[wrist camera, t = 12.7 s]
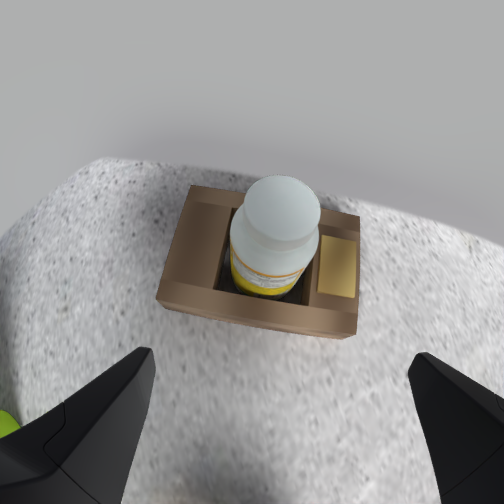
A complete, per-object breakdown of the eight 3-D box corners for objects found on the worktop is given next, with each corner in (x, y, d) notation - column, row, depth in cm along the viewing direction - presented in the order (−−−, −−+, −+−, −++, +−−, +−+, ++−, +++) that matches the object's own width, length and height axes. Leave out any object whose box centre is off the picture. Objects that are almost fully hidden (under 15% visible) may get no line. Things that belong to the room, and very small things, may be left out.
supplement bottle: (267, 317, 21) (291, 277, 13) (216, 272, 23) (206, 206, 14) (309, 268, 23) (351, 205, 14) (260, 229, 24) (274, 151, 16)
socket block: (347, 233, 25) (361, 214, 22) (341, 339, 21) (357, 333, 18) (195, 205, 25) (190, 182, 22) (165, 308, 21) (154, 297, 18)
